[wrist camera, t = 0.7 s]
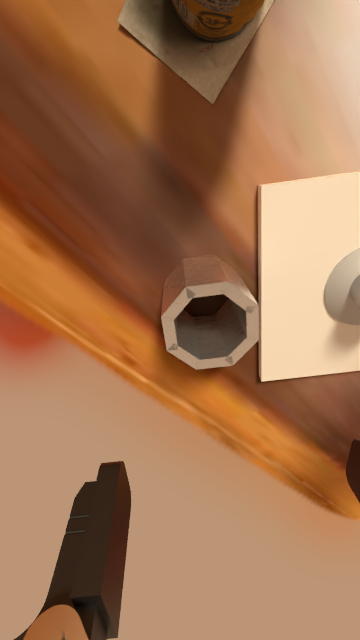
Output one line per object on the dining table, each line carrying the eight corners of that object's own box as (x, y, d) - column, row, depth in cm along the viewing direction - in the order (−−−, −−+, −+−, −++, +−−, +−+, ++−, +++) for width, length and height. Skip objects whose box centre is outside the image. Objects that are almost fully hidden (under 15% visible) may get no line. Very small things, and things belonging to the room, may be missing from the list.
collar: (236, 250, 25) (258, 277, 18) (239, 319, 27) (258, 362, 21) (160, 260, 25) (156, 290, 18) (171, 327, 28) (170, 372, 21)
